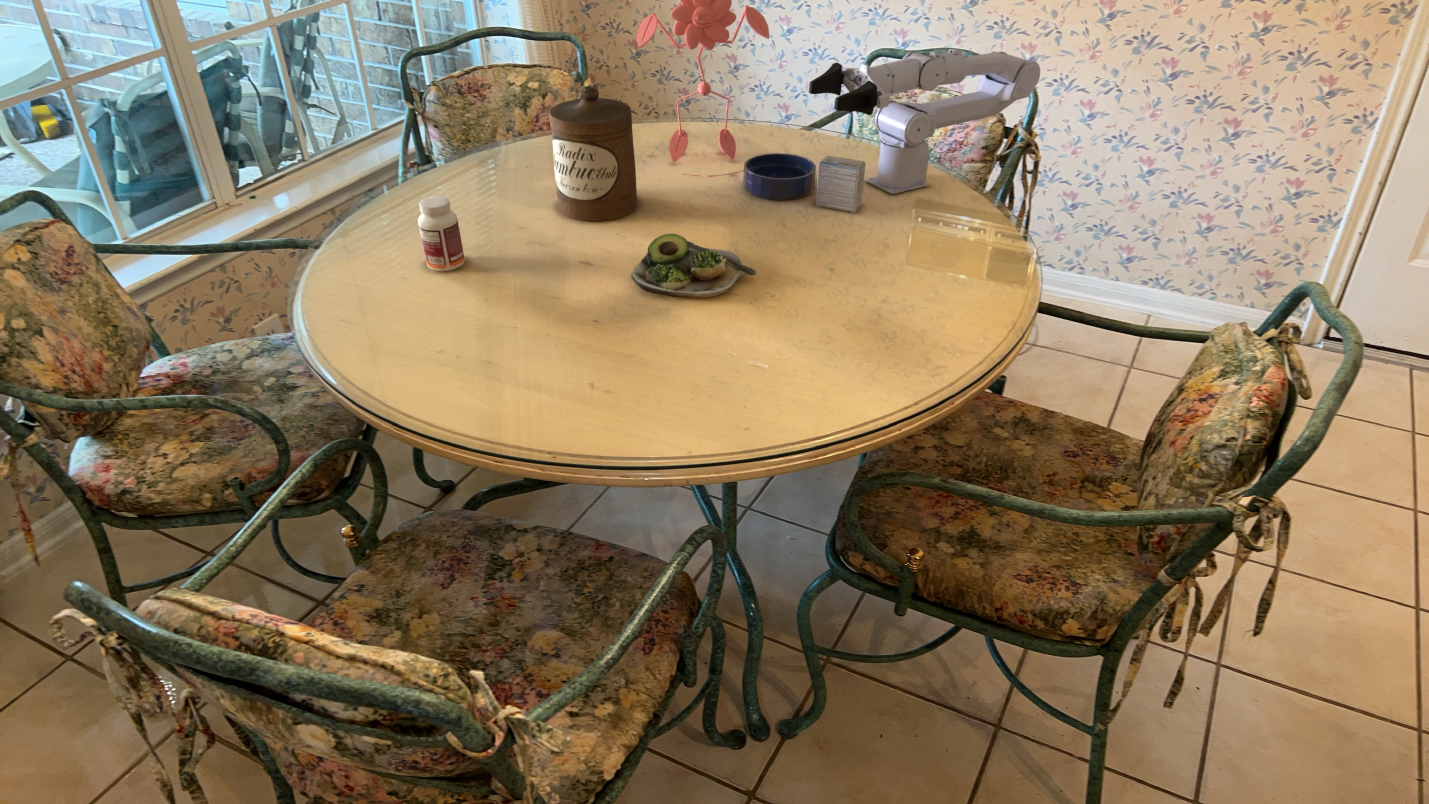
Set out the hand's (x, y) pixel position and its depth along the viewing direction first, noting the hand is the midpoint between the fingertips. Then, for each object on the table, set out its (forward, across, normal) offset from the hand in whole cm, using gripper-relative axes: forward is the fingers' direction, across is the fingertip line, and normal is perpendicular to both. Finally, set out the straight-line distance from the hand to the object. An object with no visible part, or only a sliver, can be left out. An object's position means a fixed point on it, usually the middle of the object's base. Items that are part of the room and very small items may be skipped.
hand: (822, 96), depth 160 cm
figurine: (+9, -26, +24) cm, 36 cm away
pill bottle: (+69, -8, +18) cm, 72 cm away
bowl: (+2, -8, +22) cm, 23 cm away
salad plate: (+37, +15, +17) cm, 43 cm away
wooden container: (+37, -17, +21) cm, 46 cm away
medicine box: (-2, +5, +20) cm, 21 cm away
